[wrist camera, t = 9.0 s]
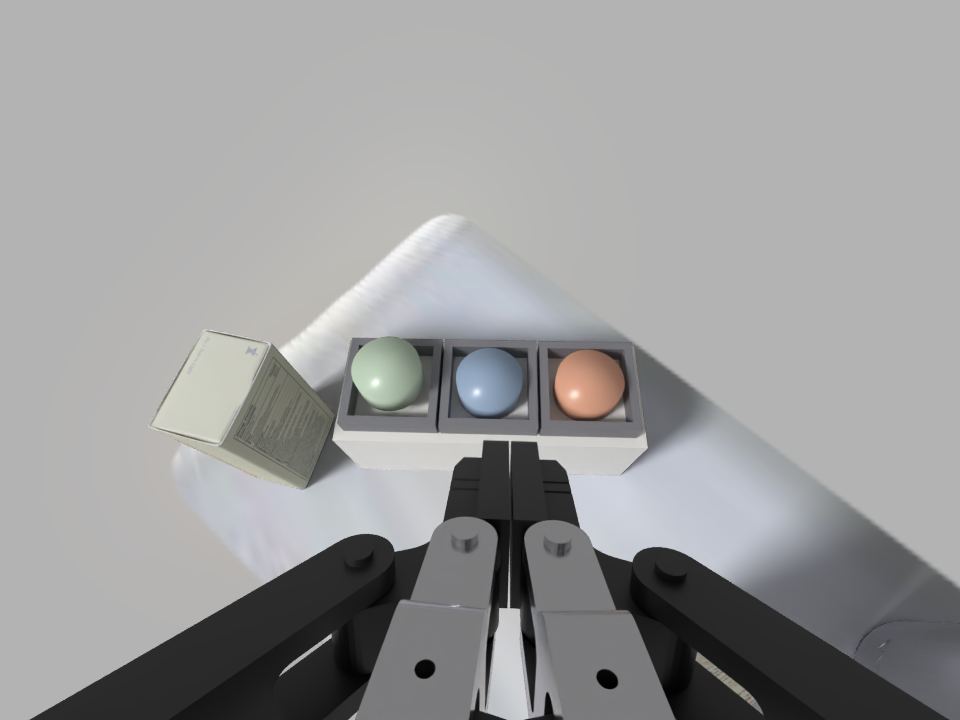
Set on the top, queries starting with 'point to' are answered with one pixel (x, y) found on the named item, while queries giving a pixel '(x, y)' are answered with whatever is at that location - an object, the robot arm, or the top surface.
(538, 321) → the top surface
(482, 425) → the button console
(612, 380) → the terracotta button
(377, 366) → the sage button
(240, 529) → the top surface
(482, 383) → the slate blue button
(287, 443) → the skincare box
